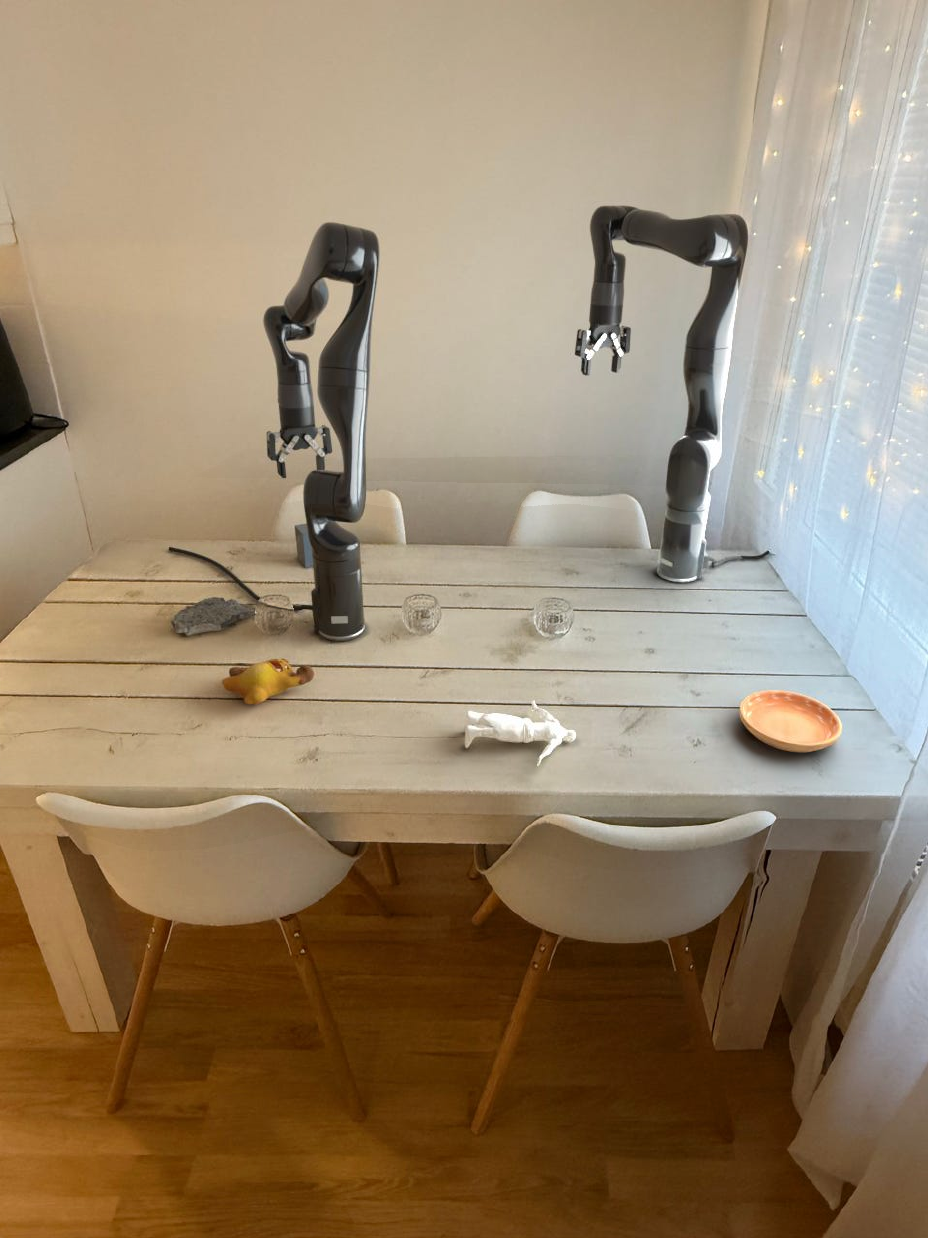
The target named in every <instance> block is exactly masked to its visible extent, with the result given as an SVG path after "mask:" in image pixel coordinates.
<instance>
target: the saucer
mask: <svg viewBox="0 0 928 1238" xmlns="http://www.w3.org/2000/svg"><path fill="white" fill-rule="evenodd" d="M739 718H740V721H741V722H742V724H743V726H744V727H745V728H746V729H747V730H748V732H750V734H752V735H753V736H754V737H755V738H756V739H757V740H759V741H761V742H762V743H764V744H766V745H768V746H770V747H772V748H773V749H777V750H778V749H779V750H781V751H785V752H791V753H812V752H815V751H820V750H822V749H823V750H824V749H826V748H828V747H830V746H832V745H834V744H835V743H837V741H838V740H839V738H840V736H841V734H842V732H843V731H842V730H843V726H842V721H841V719H840V718H839V716H838V714H836V712H835V711H833V710H832V709H831V708H830V707H828V706H827V705H826V704H824V703H822V702H821V701H819V700H817V699H814V698H812V697H810V696H808V695H804V694H800V693H798V692H792V691H788V690H787V691H786V690H777V689H776V690H775V689H773V690H762V691H757V692H753V693H751V694H749V695H747V696H746V697H745V698H743V700H742V701H741V702H740V705H739Z"/></svg>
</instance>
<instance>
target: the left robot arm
mask: <svg viewBox="0 0 928 1238" xmlns="http://www.w3.org/2000/svg"><path fill="white" fill-rule="evenodd" d="M380 254H381V253H380V242H379V238H378V235H377V234H376V233H375V231H373V230H370V229H367V228H363V227H359V226H354V225H349V224H345V223H339V222H334V221H331V222H330V221H327V222H324V223H323V224H321V225H320V226H319V227H318V228H317V230H316V232H315V233H314V235H313V237H312V239H311V242H310V245H309V248H308V250H307V253H306V256H305V258H304V261H303V265H302V267H301V270H300V273H299V276H298V278H297V280H296V282H295V284H293V286H292V287H291V289H290V290H289V292H288V293H287V294H286V296H285V298H284V301H283V304H281V305H272V306H269V307H267V308H266V310H265V311H264V314H263V318H262V324H263V328H264V330H265V334H266V336H267V340H268V341H269V345H270V347H271V350H272V354H273V358H274V361H275V366H276V377H277V403H278V413H279V425H280V429H279V431H276V432H275V431H274V432H273V431H271V430H268V431H267V432H266V454H267V458H268V459H269V460H271V461H272V462H273V461H275V462H276V470H277V474H278V475H279V476H280V477H281V478H282V479H286V478H287V471H286V469H287V468H286V462H285V460H286V458H287V457H288V456H289V455H290V453H291V451H292V450H293V451H299V450H308V449H309V448H311V449H312V450H313V451H314V452H315V454H316V455H315V463H316V464H315V465H316V469H314V470H311V471H310V472H309V473H308V474H307V475H306V477H305V480H304V484H303V491H302V495H303V496H302V497H303V498H302V499H303V510H304V515H305V516H304V517H305V522H306V523H307V530H308V538H309V543H310V545H311V548H312V559H313V566H312V568H313V581H314V588H313V589H312V590H311V591H310V597H311V604H303V605H302V604H301V605H292V606H293V608H294V610H293V611H300V612H301V611H303V610H305V611H306V610H307V611H312V620H313V629H314V634H315V635H318V636H320V637H321V638H323V639H325V640H328V641H331V642H332V641H333V642H345V641H346V642H347V641H351V640H355V639H358V638H359V637H360V636H362V635H363V634H364V633H365V631H366V623H365V613H364V612H365V610H364V594H363V593H364V592H363V575H362V574H363V573H362V560H361V541H360V538H359V537H358V536H357V535H356V534H355V533H354V532H352V531H350V530H348V529H346V528H345V527H343V526H341V525H340V524H339V523H348V524H355V523H358V522H359V521H360V520H361V519H362V518H363V515H364V513H365V512H364V511H365V508H366V503H367V455H366V453H367V452H366V451H367V448H366V445H367V444H366V439H367V438H366V437H367V421H368V420H367V419H368V409H369V408H368V407H369V396H370V380H371V379H370V378H371V351H372V350H371V348H372V347H371V346H372V330H373V329H372V328H373V316H374V308H375V300H376V292H377V286H378V277H379V269H380V256H381V255H380ZM325 279H328V280H329V281H335V282H340V283H345V284H351V285H352V294H351V298H350V302H349V306H348V309H347V311H346V313H345V316H344V317H343V319H342V321H341V323H339V326H338V327H337V328H336V330H335V331H334V333H333V334H332V335H331V337H330V338H329V340H328V341H327V342H326V344H325V346H324V347H323V349H322V351H321V352H320V356H319V358H318V370H317V397H318V401H319V404H320V407H321V408H322V412H323V413H324V415H325V417H326V419H327V421H328V422H329V424H330V426H331V428H332V429H333V431H334V433H335V435H336V437H337V441H338V443H339V446H340V449H341V450H340V451H341V454H342V455H341V456H342V464H343V471H338V470H326V464H325V463H326V462H325V457H326V455H330V454H332V453H333V445H332V444H333V443H332V437H331V429H330V427H328V426H327V425H325V424H322V425H321V426H319V427H316V418H315V417H316V415H315V404H314V391H313V386H312V377H311V365H310V364H311V363H310V358H309V356H308V355H307V354H306V353H305V352H302V351H296V350H290V349H289V347H288V345H287V342H293V341H306V340H309V339H310V338H312V337H313V336H314V335H315V333H316V327H317V322H318V318H319V317H320V315H321V314H322V313H323V312H324V310H325V309H326V308H327V306H328V302H329V300H330V299H329V298H330V291H329V287H328V284H327V281H326V280H325ZM318 434H319V436H320V437H321V438H322V445H323V447H322V448H321V447H320V446H319V445H318V444H317V442H316V441H315V439H316V437H317V435H318ZM279 438H280V439H281V440H282V443H281V445H280V447H279V450H278V452H277V453H276V450H277V449H276V444H277V443H278V441H279ZM168 551H169V552H173V553H178V554H182V555H186V556H190V557H193V558H196V559H199V560H202V561H205V562H207V563H208V564H211V565H213V566H214V567H217V568H218V569H219V570H222V571H223V572H224V573H225V574H226V575H228V576H229V577H230V578H231V579H232V580H233V581H234V582H235V583H236V584H237V585H238V586H239V587H241V588H242V590H244V591H245V592H246V593H247V594H248V595H249V596H251V597H252V599H254V600H256V601H257V602H259V601H258V600H259V599H260V598H262V597H261V596H259V595H257V594H256V593H255V592H254V591H253V590H252V589H251V588H250V587H248V586H247V585H246V584H245V583H244V582H243V581H242V580H241V579H240V578H238V577H237V575H235V574H234V573H233V572H232V571H230V570H229V569H228V568H227V567H225V566H224V565H222V564H221V563H219V562H218V561H216V560H214V559H211V558H210V557H207V556H204V555H202V554H199V553H196V552H193V551H190V550H186V549H181V548H177V547H173V546H169V547H168Z"/></svg>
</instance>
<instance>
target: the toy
mask: <svg viewBox="0 0 928 1238" xmlns="http://www.w3.org/2000/svg"><path fill="white" fill-rule="evenodd" d="M228 671H229V672H228V674H229V677H225V678H222V679H221V684H222V686H223V689H224V690H225V691H228V692H230V693H235V694H237V695H238V696H240V697H241V698H242V699H243V700H244V703H245V704H246V705H259V704H261V703H263V702H265V701H266V700H267V699H269V698H271V697H274V696H277V695H280V694H282V693H283V692H284V691H286V690H287V689H290V688H296V687H299V686H303V685H305V684H307V683H310V682H311V681H313V679H314V677H315V671H314V669H313V667H311V666H310V665H308V664H301V665H300V666H299V667H298V668H297V669H296V671H295V672H294V670H293V667H292V666H291V664H289V661H288V660H286V658H271V659H268V660H266V661H265V660H264V661H260V662H255V663H254V664H251V665H250V666H247V667H245V666H244V667H239V666H232V667H230V668H229V670H228Z"/></svg>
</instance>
